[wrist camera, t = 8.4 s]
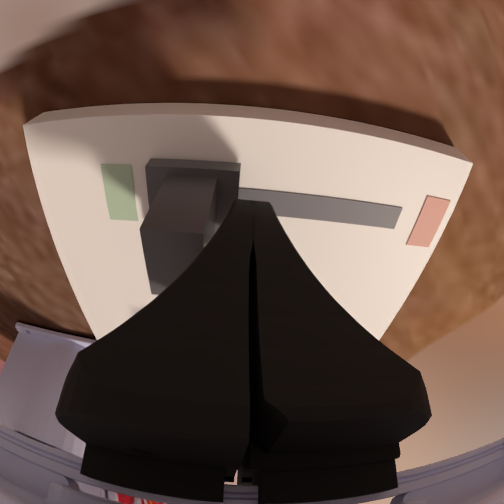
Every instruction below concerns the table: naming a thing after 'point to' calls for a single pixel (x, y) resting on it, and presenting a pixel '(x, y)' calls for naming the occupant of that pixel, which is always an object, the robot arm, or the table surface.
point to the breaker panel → (246, 196)
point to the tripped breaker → (183, 213)
